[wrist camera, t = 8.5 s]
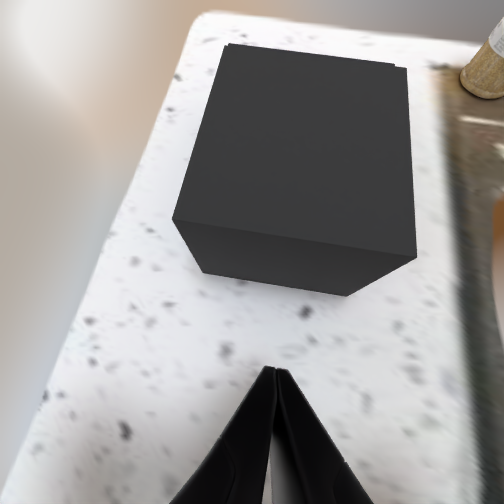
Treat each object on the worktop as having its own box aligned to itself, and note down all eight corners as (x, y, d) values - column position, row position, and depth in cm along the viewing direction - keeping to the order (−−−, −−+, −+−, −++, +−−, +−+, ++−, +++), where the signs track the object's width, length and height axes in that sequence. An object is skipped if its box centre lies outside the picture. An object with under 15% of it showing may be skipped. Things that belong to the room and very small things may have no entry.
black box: (347, 296, 18) (417, 258, 10) (202, 273, 18) (171, 219, 11) (352, 165, 22) (407, 67, 14) (232, 147, 22) (224, 44, 15)
